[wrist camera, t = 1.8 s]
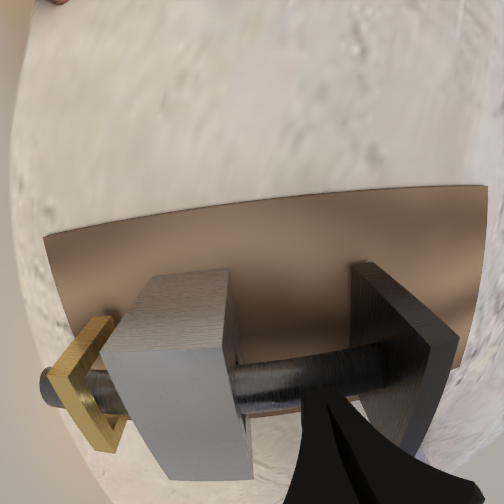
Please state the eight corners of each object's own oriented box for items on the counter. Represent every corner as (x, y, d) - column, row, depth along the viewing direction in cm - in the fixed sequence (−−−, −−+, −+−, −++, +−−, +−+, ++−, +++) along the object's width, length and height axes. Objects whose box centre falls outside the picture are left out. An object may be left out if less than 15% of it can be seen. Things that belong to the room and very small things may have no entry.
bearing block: (249, 387, 17) (253, 479, 10) (186, 392, 17) (169, 479, 10) (229, 266, 15) (221, 346, 8) (152, 275, 15) (99, 352, 8)
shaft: (365, 368, 16) (413, 459, 9) (99, 391, 16) (59, 474, 9) (372, 261, 14) (459, 336, 7) (59, 297, 14) (-17, 371, 7)
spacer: (139, 387, 15) (115, 453, 10) (122, 387, 15) (95, 450, 10) (111, 315, 14) (67, 377, 9) (93, 316, 14) (46, 374, 9)
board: (455, 362, 18) (459, 366, 18) (117, 413, 18) (115, 418, 18) (481, 185, 14) (487, 186, 14) (48, 234, 14) (42, 237, 14)
